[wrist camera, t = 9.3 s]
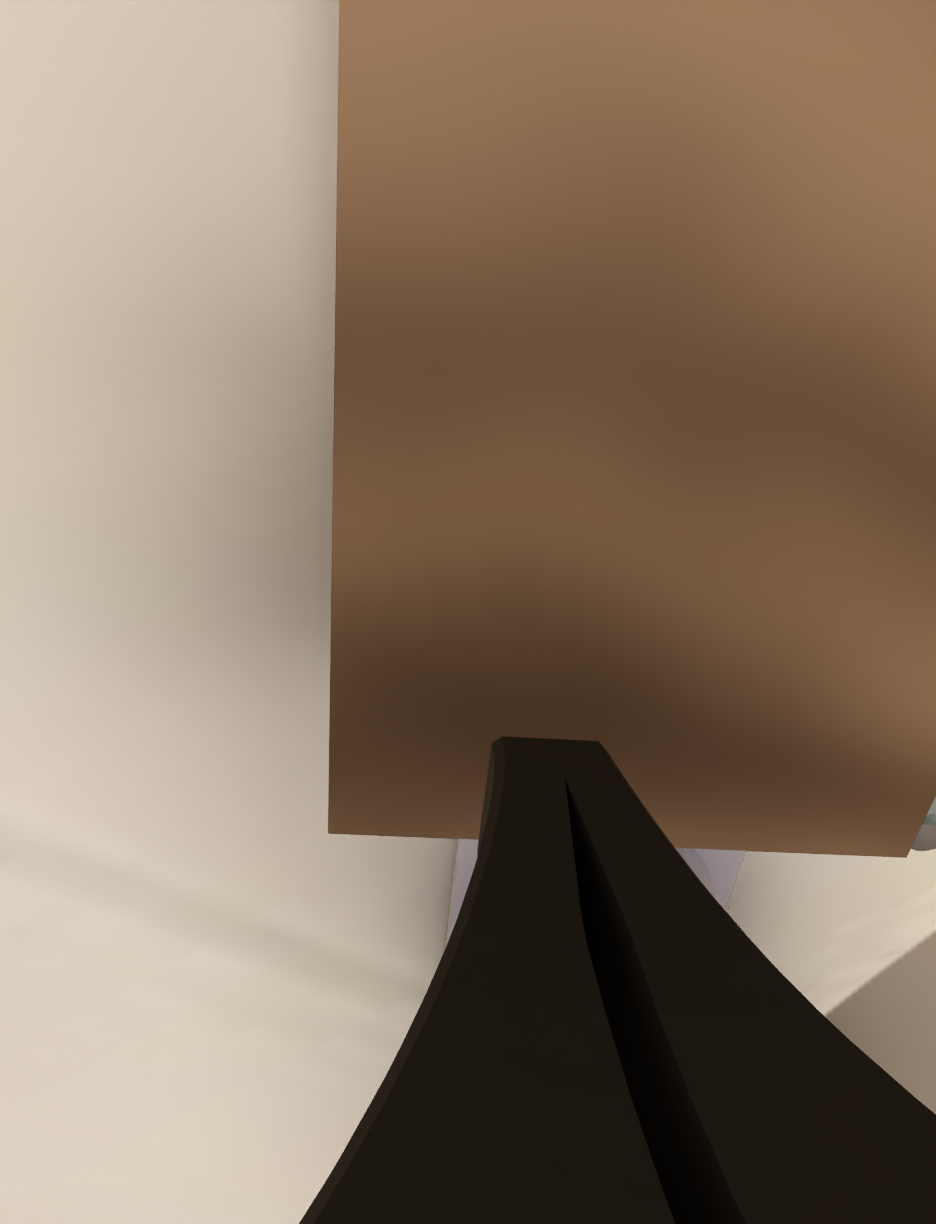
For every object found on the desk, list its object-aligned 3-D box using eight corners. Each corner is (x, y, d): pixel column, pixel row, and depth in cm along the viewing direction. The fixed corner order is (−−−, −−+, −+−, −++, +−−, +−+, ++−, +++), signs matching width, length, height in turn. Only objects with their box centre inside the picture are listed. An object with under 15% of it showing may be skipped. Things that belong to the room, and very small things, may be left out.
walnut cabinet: (793, 678, 22) (906, 857, 17) (354, 653, 21) (328, 833, 16) (1077, -151, 14) (1468, -306, 9) (381, -247, 13) (345, -481, 8)
